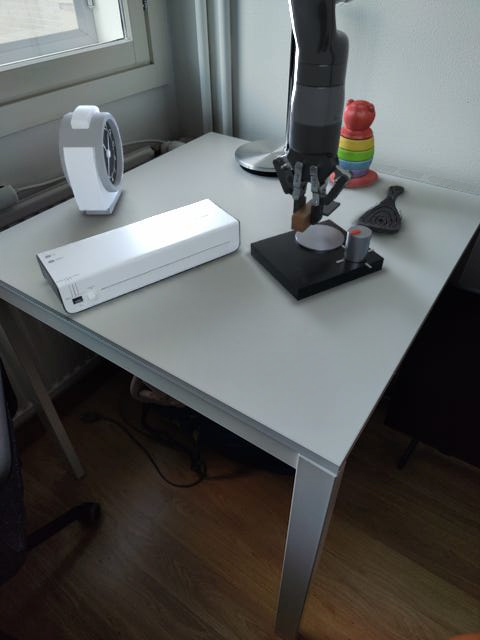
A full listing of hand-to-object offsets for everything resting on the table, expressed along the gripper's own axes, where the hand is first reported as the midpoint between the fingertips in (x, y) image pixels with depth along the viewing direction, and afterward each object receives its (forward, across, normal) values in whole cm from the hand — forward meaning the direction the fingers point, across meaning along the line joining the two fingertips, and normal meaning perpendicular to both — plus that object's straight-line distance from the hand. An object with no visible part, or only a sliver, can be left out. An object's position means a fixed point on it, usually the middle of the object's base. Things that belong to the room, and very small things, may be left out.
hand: (306, 220), depth 78 cm
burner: (+7, 0, -6) cm, 9 cm away
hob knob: (+7, -8, -4) cm, 11 cm away
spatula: (0, 0, -2) cm, 2 cm away
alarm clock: (+9, +49, +3) cm, 50 cm away
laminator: (+9, +23, +16) cm, 30 cm away
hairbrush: (+9, -5, -26) cm, 29 cm away
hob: (+9, -1, -2) cm, 9 cm away
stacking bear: (+9, +8, -38) cm, 40 cm away
